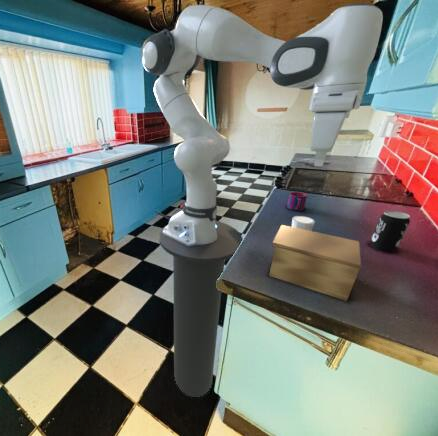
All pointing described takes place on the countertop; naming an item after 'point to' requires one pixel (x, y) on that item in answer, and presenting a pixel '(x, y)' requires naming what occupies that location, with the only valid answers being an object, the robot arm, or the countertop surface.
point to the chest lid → (319, 245)
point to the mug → (296, 201)
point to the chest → (313, 272)
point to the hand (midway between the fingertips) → (318, 165)
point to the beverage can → (390, 230)
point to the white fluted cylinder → (303, 222)
